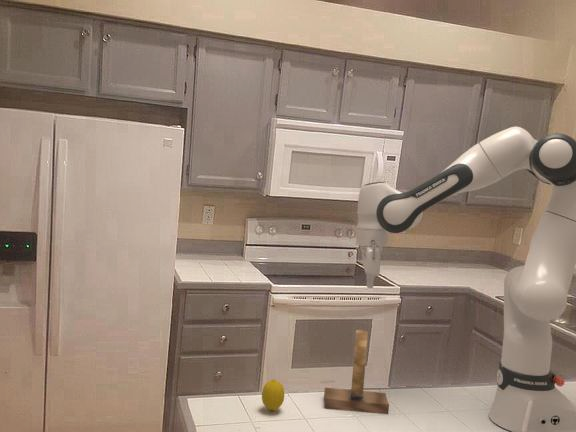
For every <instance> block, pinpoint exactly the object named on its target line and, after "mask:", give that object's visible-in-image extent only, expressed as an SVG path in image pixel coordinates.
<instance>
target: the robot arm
mask: <svg viewBox="0 0 576 432" xmlns="http://www.w3.org/2000/svg"><path fill="white" fill-rule="evenodd" d="M520 170H526V171H527V172H528V173H530V174H531V175H533V176H534V177H535V178H536V179H538V180H539V181H540V182H542V183H543V184H547V185H549V186H551V188H552V189H551V190H552V192H551V193H552V194H551V196H550V199H549V201H548V203H547V206H546V207H545V209H544V212H543V213H542V215H541V218H540V219H539V222H538V224H537V226H536V228H535V230H534V232H533V234H532V237H531V238H530V241H529V244H530V245H529V248H528V253H527V256H526V260H525V262H524V265H518V266H516V267H513V268H512V269H510V270H508V272H507V273H506V275H505V278H504V280H503V340H502V349H501V358H500V359H501V360H500V361H499V363H498V370H497V375H496V385H497V386H496V387H497V388H496V391H495V396H494V400H493V402H492V404H491V405H492V406H491V408H490V410H489V412H488V418H489V419H490V420H491V422H493V423H494V424H496V425H498V426H499V427H500V428H503V429H505V430H507V431H510V432H576V406H575V404H574V403H573V402H572V401H571V399H569V398H568V397H567V396H566V395H565V394H563V393H562V392H561V390H559V389H558V388H557V387H556V385H557V386H558V387H563V386H564V385H565V384H566V383H565V382H566V381H565V380H564V379H563V378H562V377H561V376H560V375H556V374H555V373H554V372H552V371H551V370H550V369H551V359H552V358H551V357H552V350H553V348H552V347H553V338H552V331H551V330H552V329H551V321H554V320H556V319H557V318H560V316H562V315H563V314H564V312H565V311H566V308H567V304H568V293H569V290H570V286H571V284H572V283H571V282H572V279H573V275H574V272H575V267H576V139H574V138H573V137H571V136H570V135H567V134H564V133H558V132H556V133H555V132H554V133H550V134H547V135H544V136H543V137H541V138H540V139H539V140H536V138H535V139H534V137H533V136H532V135H531V133H529V132H528V130H526V129H525V128H522V127H520V126H511V127H508V128H506V129H504V130H500V131H499V132H496V133H494V134H492V135H490V136H489V137H486V138H484V139H483V140H481V141H479V142H478V143H476V144H475V145H472V147H470V148H469V149H468V150H466V151H465V152H464V153H462V154H461V155H460V156H459V157H457V159H455V160H454V161H453V162H452V163H451V164H450V165H448V166H447V167H446V168H445V169H443V170H442V171H441V172H440V173H437V175H434V176H433V177H432V178H429V179H427V180H426V181H424V182H423V183H421V184H419V185H417V186H416V187H414V188H412V189H410V190H409V191H406V192H402V191H400V190H398V189H396V188H394V187H392V186H391V185H390V184H389V183H388V182H386V181H376V182H374V181H373V182H370V183H365V184H364V185H363V186H361V188H360V190H359V194H358V201H357V211H356V213H357V218H358V221H357V224H356V239H355V244H356V245H358V246H360V247H359V248H360V249H359V250H360V251H361V261H362V267H363V270H364V272H365V276H366V287H367V288H368V289H373V288H374V284H375V283H374V281H375V278H376V277H379V276H380V273H381V252H383V250H384V249H383V247H388V241H389V239H388V238H389V233H391V234H399V233H403V232H405V231H407V230H410V229H412V228H414V227H416V226H417V225H419V224H420V223H421V222H422V221H423V220H422V219H423V218H424V213H425V211H427V210H428V209H430V208H432V207H434V206H436V205H437V204H439V203H441V202H443V201H444V200H446V199H448V198H450V197H453V196H454V195H458V194H461V193H466V192H473V191H477V190H480V189H484V188H486V187H488V186H492V185H494V184H496V183H497V182H499V181H501V180H502V179H504V178H506V177H507V176H510V174H513V173H514V172H517V171H520Z"/></svg>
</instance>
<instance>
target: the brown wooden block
mask: <svg viewBox="0 0 576 432" xmlns="http://www.w3.org/2000/svg"><path fill="white" fill-rule="evenodd" d="M323 400H324V401H323V403H324V409H328V410H338V411H339V410H340V411H341V410H342V411H350V412H361V413H372V414H374V413H375V414H383V415H388V414H389V408H390V404H389V400H388V397H387V394H386V392H379V391H367V390H363V398H358V397H351V389H343V388H334V387H331V388H330V387H324V395H323Z"/></svg>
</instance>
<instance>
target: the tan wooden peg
mask: <svg viewBox="0 0 576 432" xmlns="http://www.w3.org/2000/svg"><path fill="white" fill-rule="evenodd" d="M368 334H369V331H368V330H365V329H356V330H355V336H354V337H355V338H354V339H355V341H354V351H353V352H354V353H353V363H352V365H353V366H352V378H351V380H352V381H351V389H350V390H351V397H358V398H363V391H364V385H365V373H366V361H367V360H366V359H367V348H368V338H369V337H368V336H369V335H368Z"/></svg>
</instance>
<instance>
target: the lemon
mask: <svg viewBox="0 0 576 432" xmlns="http://www.w3.org/2000/svg"><path fill="white" fill-rule="evenodd" d="M284 389H285V388H284V386H283V384H282V383H281V382H280V381H279V380H277V379H274V378H273V379H271V380H269V381H267V382H265V384H264V385H263V388H262V391H261V401H262V404H263V406H264V407H265V408H267V409H268V410H270V411H271V412H273V411H276V410H278V409H280V407H281V406H282V405H283V403H284V401H285V390H284Z"/></svg>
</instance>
